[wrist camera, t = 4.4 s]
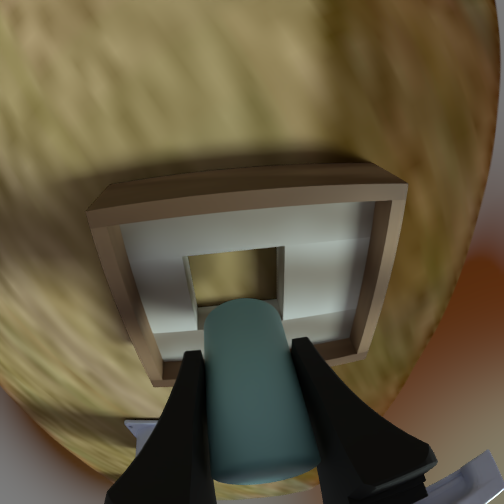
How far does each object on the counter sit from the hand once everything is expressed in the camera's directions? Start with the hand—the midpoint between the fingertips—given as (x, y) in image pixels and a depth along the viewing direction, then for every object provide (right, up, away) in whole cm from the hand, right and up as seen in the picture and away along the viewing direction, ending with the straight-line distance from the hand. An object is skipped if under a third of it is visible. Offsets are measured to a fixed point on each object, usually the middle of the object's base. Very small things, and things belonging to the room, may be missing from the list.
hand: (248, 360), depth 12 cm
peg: (0, +1, +2) cm, 2 cm away
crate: (0, +3, +6) cm, 7 cm away
